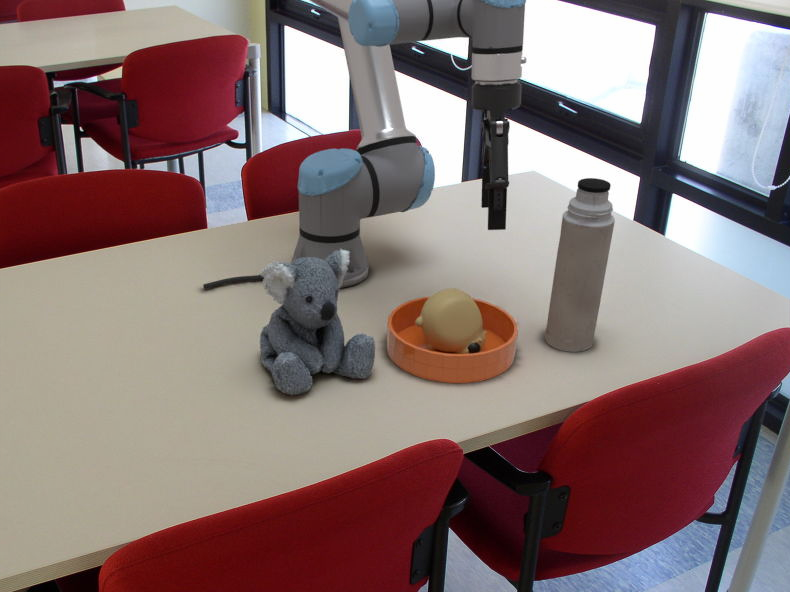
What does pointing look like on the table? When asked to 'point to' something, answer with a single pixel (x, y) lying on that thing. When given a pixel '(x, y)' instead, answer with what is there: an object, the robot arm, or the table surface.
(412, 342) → the pan
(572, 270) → the thermos bottle
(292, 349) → the koala plush
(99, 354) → the table surface
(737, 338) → the table surface
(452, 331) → the beige pug toy
